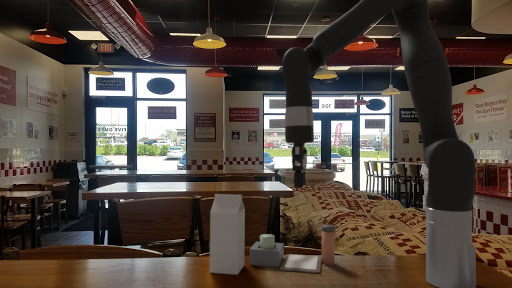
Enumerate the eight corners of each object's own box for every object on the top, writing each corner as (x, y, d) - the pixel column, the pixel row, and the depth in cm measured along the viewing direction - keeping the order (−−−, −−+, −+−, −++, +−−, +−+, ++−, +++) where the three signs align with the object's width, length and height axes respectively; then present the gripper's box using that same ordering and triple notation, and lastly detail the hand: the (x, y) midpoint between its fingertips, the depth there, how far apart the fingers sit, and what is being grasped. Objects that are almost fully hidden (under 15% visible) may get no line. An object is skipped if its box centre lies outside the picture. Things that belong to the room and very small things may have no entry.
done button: (275, 252, 96) (275, 234, 96) (273, 257, 92) (273, 238, 92) (261, 251, 97) (261, 233, 97) (258, 255, 93) (258, 237, 93)
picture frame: (321, 257, 98) (321, 255, 98) (319, 273, 85) (319, 271, 85) (286, 255, 100) (286, 253, 100) (279, 270, 87) (279, 267, 87)
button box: (283, 257, 98) (283, 243, 98) (279, 266, 90) (279, 251, 90) (256, 255, 99) (256, 241, 99) (249, 264, 91) (249, 249, 92)
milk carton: (237, 275, 83) (238, 196, 84) (209, 273, 85) (210, 195, 85) (244, 265, 90) (245, 193, 91) (218, 263, 92) (219, 192, 92)
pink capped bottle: (334, 261, 94) (334, 225, 94) (334, 266, 91) (335, 227, 91) (321, 260, 95) (321, 224, 95) (321, 264, 92) (321, 227, 92)
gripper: (312, 122, 84) (313, 189, 83) (314, 126, 98) (315, 183, 97) (281, 123, 85) (282, 189, 85) (288, 127, 99) (288, 183, 99)
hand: (300, 186), depth 91 cm, fingers open, 8 cm apart
